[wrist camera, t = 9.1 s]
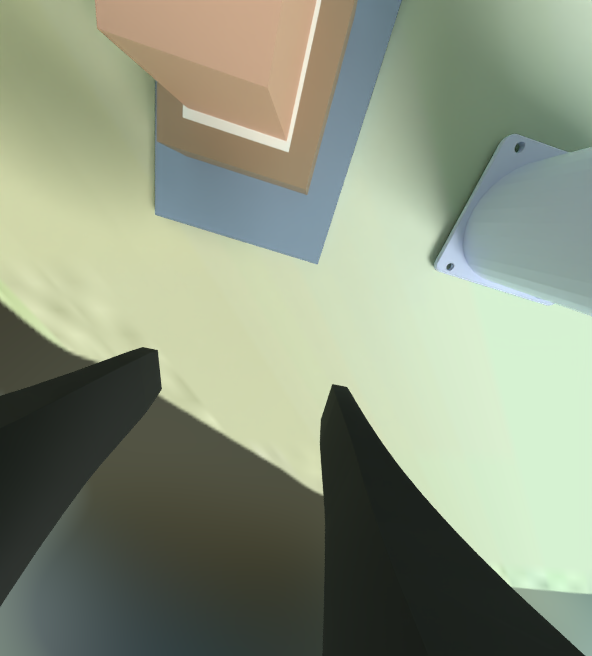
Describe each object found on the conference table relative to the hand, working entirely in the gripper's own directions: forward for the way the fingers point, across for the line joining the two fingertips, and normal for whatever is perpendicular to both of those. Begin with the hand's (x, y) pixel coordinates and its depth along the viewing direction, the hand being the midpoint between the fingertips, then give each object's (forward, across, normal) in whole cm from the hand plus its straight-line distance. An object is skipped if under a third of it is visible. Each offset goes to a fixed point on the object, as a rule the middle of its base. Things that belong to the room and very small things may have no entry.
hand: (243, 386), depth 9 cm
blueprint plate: (+10, +3, -12) cm, 16 cm away
